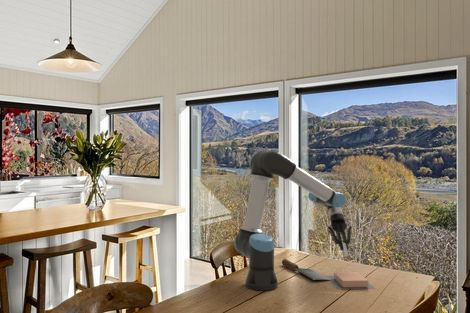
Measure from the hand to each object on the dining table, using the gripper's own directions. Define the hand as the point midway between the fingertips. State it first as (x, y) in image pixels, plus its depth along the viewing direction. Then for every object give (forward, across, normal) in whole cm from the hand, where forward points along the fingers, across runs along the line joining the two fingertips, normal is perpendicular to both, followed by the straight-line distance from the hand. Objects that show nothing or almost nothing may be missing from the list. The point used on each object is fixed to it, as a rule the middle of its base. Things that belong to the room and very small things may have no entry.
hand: (346, 255), depth 195 cm
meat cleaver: (0, +18, -16) cm, 24 cm away
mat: (+12, 0, -4) cm, 13 cm away
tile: (+7, 0, -6) cm, 9 cm away
